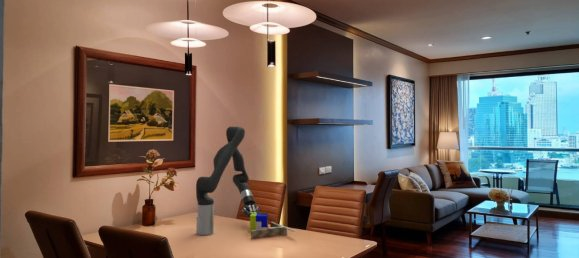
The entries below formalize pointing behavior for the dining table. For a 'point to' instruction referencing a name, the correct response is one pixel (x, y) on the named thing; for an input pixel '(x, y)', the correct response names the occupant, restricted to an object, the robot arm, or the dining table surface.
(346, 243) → the dining table surface
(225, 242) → the dining table surface
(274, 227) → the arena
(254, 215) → the puzzle toy
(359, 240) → the dining table surface
